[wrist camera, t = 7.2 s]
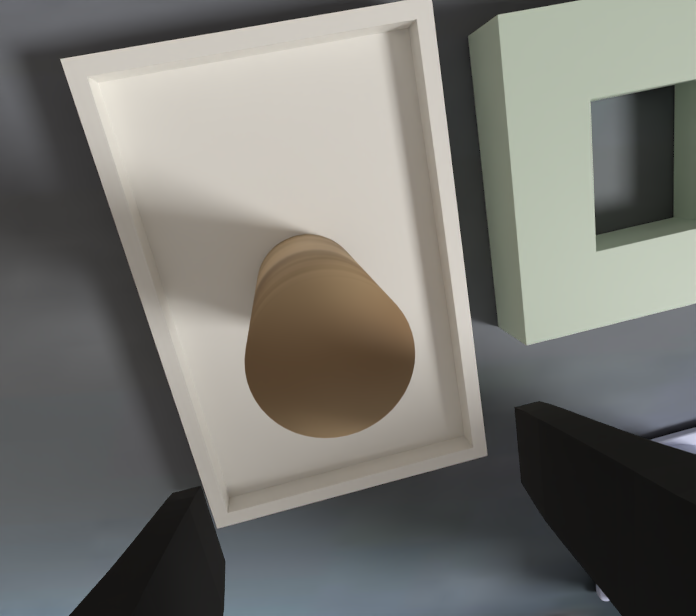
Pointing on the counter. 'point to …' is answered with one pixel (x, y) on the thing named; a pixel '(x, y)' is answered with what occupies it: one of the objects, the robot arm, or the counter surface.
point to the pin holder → (579, 162)
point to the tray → (288, 230)
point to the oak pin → (324, 341)
